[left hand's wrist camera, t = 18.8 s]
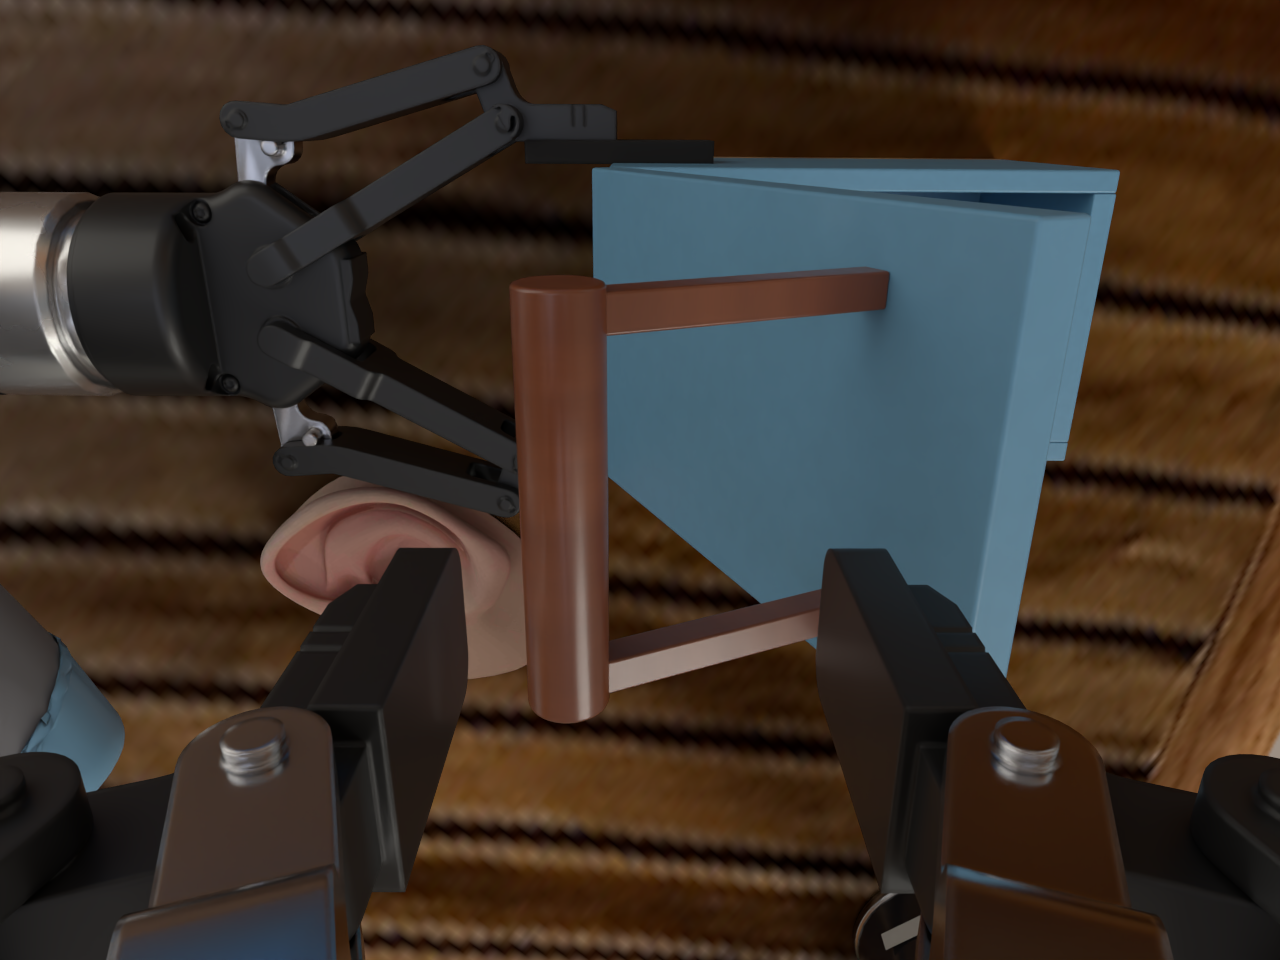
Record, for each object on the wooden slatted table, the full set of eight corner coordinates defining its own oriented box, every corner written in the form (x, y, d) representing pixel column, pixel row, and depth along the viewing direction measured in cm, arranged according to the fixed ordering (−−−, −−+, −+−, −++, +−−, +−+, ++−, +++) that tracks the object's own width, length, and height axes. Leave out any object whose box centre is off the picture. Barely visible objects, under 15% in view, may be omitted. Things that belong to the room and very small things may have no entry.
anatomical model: (575, 687, 43) (368, 764, 45) (580, 643, 47) (388, 715, 48) (446, 450, 39) (221, 545, 40) (463, 421, 42) (256, 509, 44)
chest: (995, 158, 38) (1121, 170, 28) (963, 381, 42) (1065, 461, 32) (616, 156, 38) (608, 166, 28) (617, 379, 42) (610, 458, 32)
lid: (1095, 213, 13) (599, 235, 10) (995, 746, 17) (605, 889, 14) (624, 167, 28) (356, 170, 25) (624, 462, 31) (390, 499, 28)
